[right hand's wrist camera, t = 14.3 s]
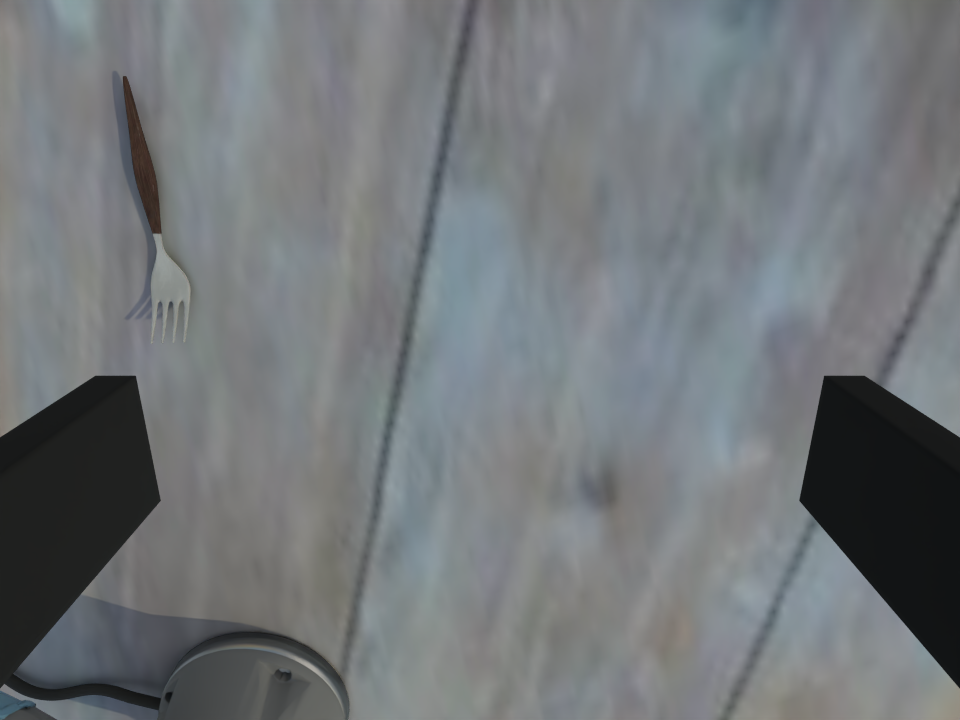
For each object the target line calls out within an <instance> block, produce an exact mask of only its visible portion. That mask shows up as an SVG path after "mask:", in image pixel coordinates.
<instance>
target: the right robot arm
mask: <svg viewBox="0 0 960 720" xmlns="http://www.w3.org/2000/svg"><path fill="white" fill-rule="evenodd" d="M160 501H161V500H160V495H159V490H158V485H157V480H156V475H155V470H154V465H153V460H152V455H151V450H150V445H149V440H148V435H147V430H146V425H145V420H144V415H143V410H142V405H141V400H140V395H139V390H138V385H137V380H136V376H95V377H93V378H91V379H90V380H88V381H87V382H85V383H84V384H82V385H81V386H79V387H77V388H76V389H74V390H73V391H71V392H70V393H68V394H67V395H65V396H64V397H62V398H60V399H59V400H57V401H56V402H54V403H53V404H51V405H50V406H48V407H47V408H45V409H43V410H42V411H40V412H39V413H37V414H36V415H34V416H33V417H31V418H30V419H28V420H26V421H25V422H23V423H22V424H20V425H19V426H17V427H16V428H14V429H13V430H11V431H9V432H8V433H6V434H5V435H3V436H2V437H0V688H1V687H2V686H3V684H6V685H7V686H8V687H10V688H11V689H13V690H15V691H16V692H18V693H20V694H22V695H25V696H27V697H30V698H34V699H39V700H49V701H55V700H64V699H70V698H74V697H79V696H85V695H103V696H108V697H112V698H115V699H118V700H121V701H124V702H127V703H131V704H135V705H139V706H143V707H147V708H152V709H156V710H159V714H158V719H157V720H348V717H349V698H348V694H347V691H346V688H345V686H344V684H343V682H342V680H341V678H340V677H339V675H338V674H337V672H336V671H335V670H334V669H333V667H332V666H331V665H330V664H329V663H328V662H327V661H326V660H324V659H323V658H322V657H321V656H320V655H318V654H317V653H315V652H314V651H312V650H311V649H309V648H307V647H305V646H303V645H301V644H299V643H297V642H295V641H292V640H289V639H286V638H283V637H280V636H275V635H271V634H264V633H233V634H228V635H223V636H219V637H216V638H213V639H210V640H208V641H206V642H204V643H201V644H200V645H198V646H197V647H195V648H193V649H192V650H191V651H190V652H188V653H187V654H186V655H185V656H184V657H183V658H182V660H181V661H180V662H179V663H178V665H177V667H176V668H175V670H174V672H173V673H172V675H171V677H170V679H169V681H168V682H167V684H166V686H165V688H164V691H163V694H162V697H161V698H157V697H153V696H149V695H144V694H140V693H136V692H133V691H129V690H126V689H123V688H120V687H117V686H113V685H107V684H85V685H79V686H74V687H69V688H64V689H44V688H40V687H36V686H33V685H31V684H29V683H27V682H25V681H23V680H22V679H20V678H18V677H17V676H15V675H14V674H13V673H14V672H15V670H16V669H17V668H18V667H19V666H20V665H21V663H22V662H23V661H24V660H25V659H26V658H27V656H28V655H29V654H30V653H31V652H32V651H33V649H34V648H35V647H36V646H37V645H38V644H39V642H40V641H41V640H42V639H43V638H44V637H45V635H46V634H47V633H48V632H49V631H50V630H51V628H52V627H53V626H54V625H55V624H56V622H57V621H58V620H59V619H60V618H61V617H62V615H63V614H64V613H65V612H66V611H67V610H68V608H69V607H70V606H71V605H72V604H73V603H74V601H75V600H76V599H77V598H78V597H79V596H80V594H81V593H82V592H83V591H84V590H85V589H86V587H87V586H88V585H89V584H90V583H91V582H92V580H93V579H94V578H95V577H96V576H97V575H98V573H99V572H100V571H101V570H102V569H103V568H104V566H105V565H106V564H107V563H108V562H109V560H110V559H111V558H112V557H113V556H114V555H115V553H116V552H117V551H118V550H119V549H120V548H121V546H122V545H123V544H124V543H125V542H126V541H127V539H128V538H129V537H130V536H131V535H132V534H133V532H134V531H135V530H136V529H137V528H138V527H139V525H140V524H141V523H142V522H143V521H144V520H145V518H146V517H147V516H148V515H149V514H150V513H151V511H152V510H153V509H154V508H155V507H156V506H157V504H158V503H159V502H160ZM799 501H800V502H801V503H802V504H803V506H804V507H805V508H806V509H807V510H808V511H809V513H810V514H811V515H812V516H813V517H814V518H815V520H816V521H817V522H818V523H819V524H820V525H821V527H822V528H823V529H824V530H825V531H826V532H827V534H828V535H829V536H830V537H831V538H832V539H833V541H834V542H835V543H836V544H837V545H838V546H839V548H840V549H841V550H842V551H843V552H844V553H845V555H846V556H847V557H848V558H849V559H850V560H851V562H852V563H853V564H854V565H855V566H856V568H857V569H858V570H859V571H860V572H861V573H862V575H863V576H864V577H865V578H866V579H867V580H868V582H869V583H870V584H871V585H872V586H873V587H874V589H875V590H876V591H877V592H878V593H879V594H880V596H881V597H882V598H883V599H884V600H885V601H886V603H887V604H888V605H889V606H890V607H891V608H892V610H893V611H894V612H895V613H896V614H897V615H898V617H899V618H900V619H901V620H902V621H903V622H904V624H905V625H906V626H907V627H908V628H909V630H910V631H911V632H912V633H913V634H914V635H915V637H916V638H917V639H918V640H919V641H920V642H921V644H922V645H923V646H924V647H925V648H926V649H927V651H928V652H929V653H930V654H931V655H932V656H933V658H934V659H935V660H936V661H937V662H938V663H939V665H940V666H941V667H942V668H943V669H944V670H945V672H946V673H947V674H948V675H949V676H950V677H951V679H952V680H953V681H954V682H955V683H956V684H957V686H958V687H959V688H960V437H958V436H957V435H955V434H954V433H952V432H951V431H949V430H947V429H946V428H944V427H943V426H941V425H940V424H938V423H937V422H935V421H934V420H932V419H930V418H929V417H927V416H926V415H924V414H923V413H921V412H920V411H918V410H917V409H915V408H913V407H912V406H910V405H909V404H907V403H906V402H904V401H903V400H901V399H900V398H898V397H896V396H895V395H893V394H892V393H890V392H889V391H887V390H886V389H884V388H882V387H881V386H879V385H878V384H876V383H875V382H873V381H872V380H870V379H869V378H867V377H865V376H824V380H823V385H822V390H821V395H820V400H819V405H818V410H817V415H816V420H815V425H814V430H813V435H812V440H811V445H810V450H809V455H808V460H807V465H806V470H805V475H804V480H803V485H802V490H801V495H800V500H799ZM0 720H57V719H55V718H53V717H51V716H50V715H48V714H46V713H44V712H43V711H41V710H39V709H37V708H36V704H35V703H34V702H32V701H28V700H24V701H20V700H18V699H16V698H14V697H12V696H10V695H8V694H6V693H4V692H2V691H0Z"/></svg>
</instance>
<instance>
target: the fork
mask: <svg viewBox="0 0 960 720" xmlns="http://www.w3.org/2000/svg"><path fill="white" fill-rule="evenodd" d="M123 86H124V96H125V104H126V111H127V119H128V126H129V134H130V144H131V153H132V161H133V168H134V174H135V179H136V183H137V186H138V190H139V193H140V196H141V199H142V203H143V206H144V209H145V212H146V215H147V218H148V221H149V224H150V227H151V230H152V233H153V236H154V240H155V243H156V248H157V256H156V261H155V264H154V268H153V271H152V276H151V300H152V326H151V342H150V343H151V344H153V338H154V331H155V324H156V316H157V308H158V303H159V302H161V303H162V309H163V314H162V343H163V342H164V336H165V329H166V322H167V314H168V306H169V302H170V301H172V303H173V340H172V342H173V343H174V341H175V334H176V327H177V320H178V311H179V304H180V302H181V301H183V303H184V337H183V343H185V340H186V333H187V325H188V317H189V307H190V294H191V289H190V283H189V281H188V278H187V276H186V275H185V273H184V272H183V271H182V270H181V269H180V267H179V266H178V265H177V264H176V263H175V262H174V261H173V260H172V259H171V258H170V257H169V256H168V254H167V253H166V251H165V249H164V246H163V242H162V233H161V221H160V209H159V197H158V188H157V181H156V176H155V172H154V168H153V164H152V161H151V157H150V154H149V151H148V148H147V145H146V141H145V138H144V135H143V131H142V128H141V124H140V121H139V117H138V113H137V110H136V106H135V102H134V99H133V95H132V92H131V88H130V85H129V82H128V79H127V77H126V76H123Z"/></svg>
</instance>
